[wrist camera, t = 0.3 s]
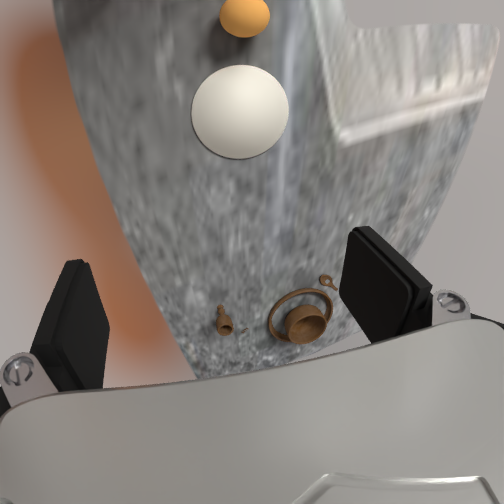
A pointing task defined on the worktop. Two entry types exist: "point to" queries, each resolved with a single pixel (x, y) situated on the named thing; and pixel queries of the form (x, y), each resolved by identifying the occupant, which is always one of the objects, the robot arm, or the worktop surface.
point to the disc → (239, 111)
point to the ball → (244, 17)
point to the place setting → (291, 318)
